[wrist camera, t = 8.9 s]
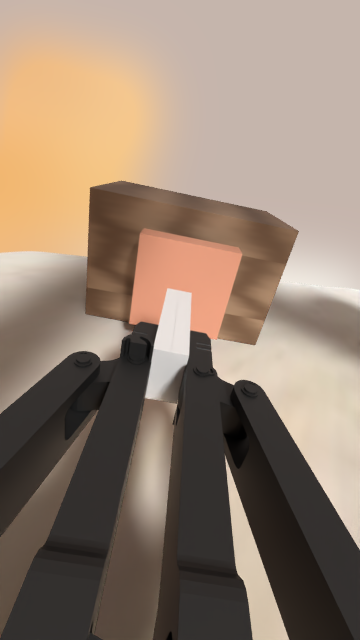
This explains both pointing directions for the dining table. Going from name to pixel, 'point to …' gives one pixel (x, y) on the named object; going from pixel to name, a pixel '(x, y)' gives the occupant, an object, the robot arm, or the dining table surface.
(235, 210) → the block
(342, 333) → the dining table surface
